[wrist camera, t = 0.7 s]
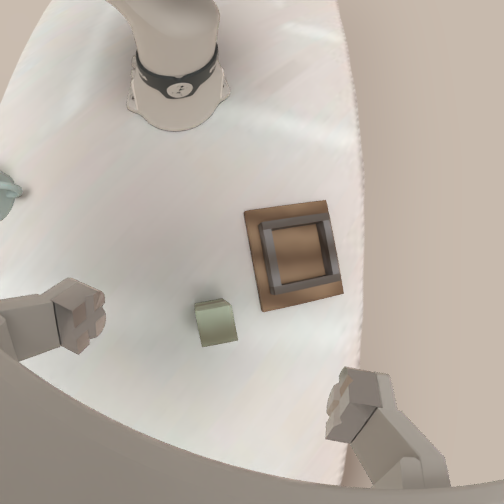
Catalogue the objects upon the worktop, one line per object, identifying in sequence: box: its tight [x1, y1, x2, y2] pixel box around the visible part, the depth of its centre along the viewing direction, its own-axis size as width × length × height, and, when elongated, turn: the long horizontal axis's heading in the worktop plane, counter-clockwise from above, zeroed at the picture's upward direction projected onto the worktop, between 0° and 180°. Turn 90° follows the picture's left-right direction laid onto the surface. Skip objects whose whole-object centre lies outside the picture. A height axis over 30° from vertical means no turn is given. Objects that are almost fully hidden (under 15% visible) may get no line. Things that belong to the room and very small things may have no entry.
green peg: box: [195, 299, 238, 347], centre depth 42 cm, size 4×4×12 cm
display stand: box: [244, 200, 344, 312], centre depth 49 cm, size 16×14×4 cm
